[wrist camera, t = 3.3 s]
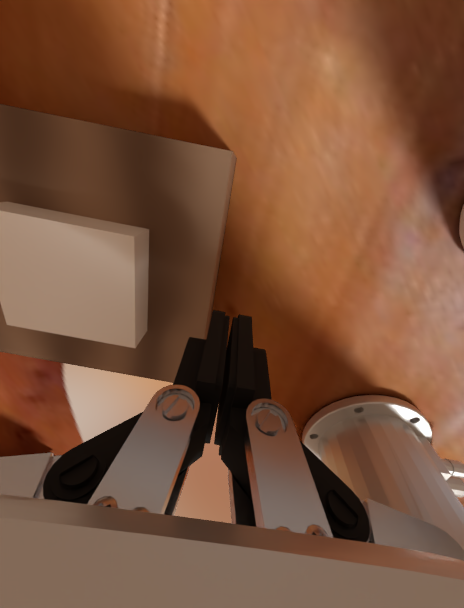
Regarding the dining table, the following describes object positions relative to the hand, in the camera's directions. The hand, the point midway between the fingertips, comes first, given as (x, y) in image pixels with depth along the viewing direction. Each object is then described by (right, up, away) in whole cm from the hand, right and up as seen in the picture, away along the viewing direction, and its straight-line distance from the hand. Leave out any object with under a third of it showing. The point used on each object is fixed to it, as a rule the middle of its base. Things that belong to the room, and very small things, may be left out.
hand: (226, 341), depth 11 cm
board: (-11, +6, +8) cm, 15 cm away
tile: (-9, +4, +5) cm, 11 cm away
